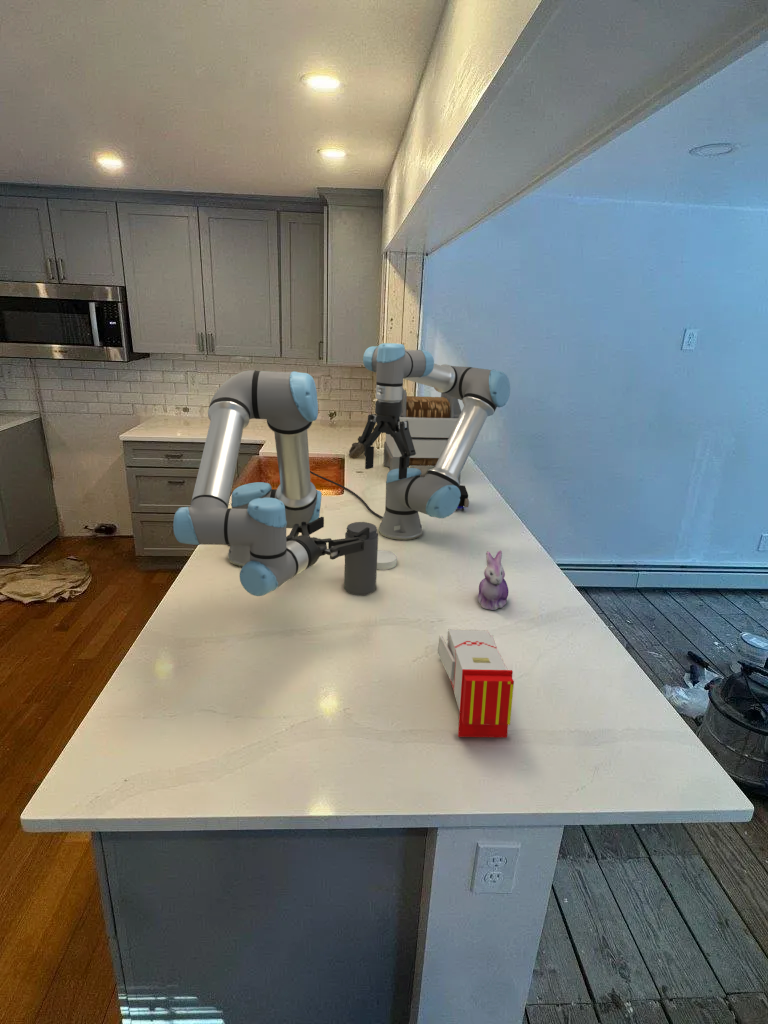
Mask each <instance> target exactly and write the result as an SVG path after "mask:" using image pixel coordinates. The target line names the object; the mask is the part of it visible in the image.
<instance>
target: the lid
mask: <svg viewBox="0 0 768 1024" xmlns="http://www.w3.org/2000/svg"><path fill="white" fill-rule="evenodd" d="M397 564H398V555H397V554H396V553H395V552H393V551H391V550H387V549H378V551H377V571H378V570H379V571H385V570H391V569H394V568H395V567H396V566H397Z"/></svg>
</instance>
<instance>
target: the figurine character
mask: <svg viewBox="0 0 768 1024" xmlns="http://www.w3.org/2000/svg"><path fill="white" fill-rule="evenodd" d="M459 490H460V493H461V497H460V502H459V505H458V507H457V509H456V510H455V512H457V511H458V509H461V511H462V512H464V511H465V508H469V505H470V500H469V492H468V490H467V488H466V485H464V484H463V485H461V484H460V485H459Z"/></svg>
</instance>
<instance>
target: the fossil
mask: <svg viewBox="0 0 768 1024" xmlns="http://www.w3.org/2000/svg"><path fill="white" fill-rule="evenodd" d="M361 436H362V435H359V436H358V437H357V441H358V442H353V443H352V444H351V447H350V448H349V451H348V456H349V458H351V459H355V458H357V457H359V456H361V455H362V454H364V452H365V447H364V445H363V444H361V443H360V442H359V441H360V438H361Z"/></svg>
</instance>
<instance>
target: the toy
mask: <svg viewBox="0 0 768 1024" xmlns="http://www.w3.org/2000/svg"><path fill="white" fill-rule="evenodd" d="M446 640H447V643H446V641H445V639H444V636H443V635H442V634H439V637H438V646H437V656H438V657H439V659H440V661H441V663H442V666H443V668H444V670H445V672H446V674H447V677H448V679H449V681H450V684H451V687H452V690H453V693H454V697H455V701H456V705H457V708H458V711H459V714H458V715H459V716H458V730H457V731H458V732H457V737H458V738H508V731H509V726H510V725H511V717H512V707H513V697H514V696H513V695H514V684H515V680H514V679H513V673H514V671H513V670H512V669H508V667H507V665H506V662H505V661H504V659H503V658H502V655H501V653H500V651H499V649H498V647H497V643H496V639H495V637H494V635H493V634H491V632H490V631H489V629H467V628H466V629H465V628H463V629H461V628H460V629H459V628H448V630H447V639H446Z"/></svg>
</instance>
